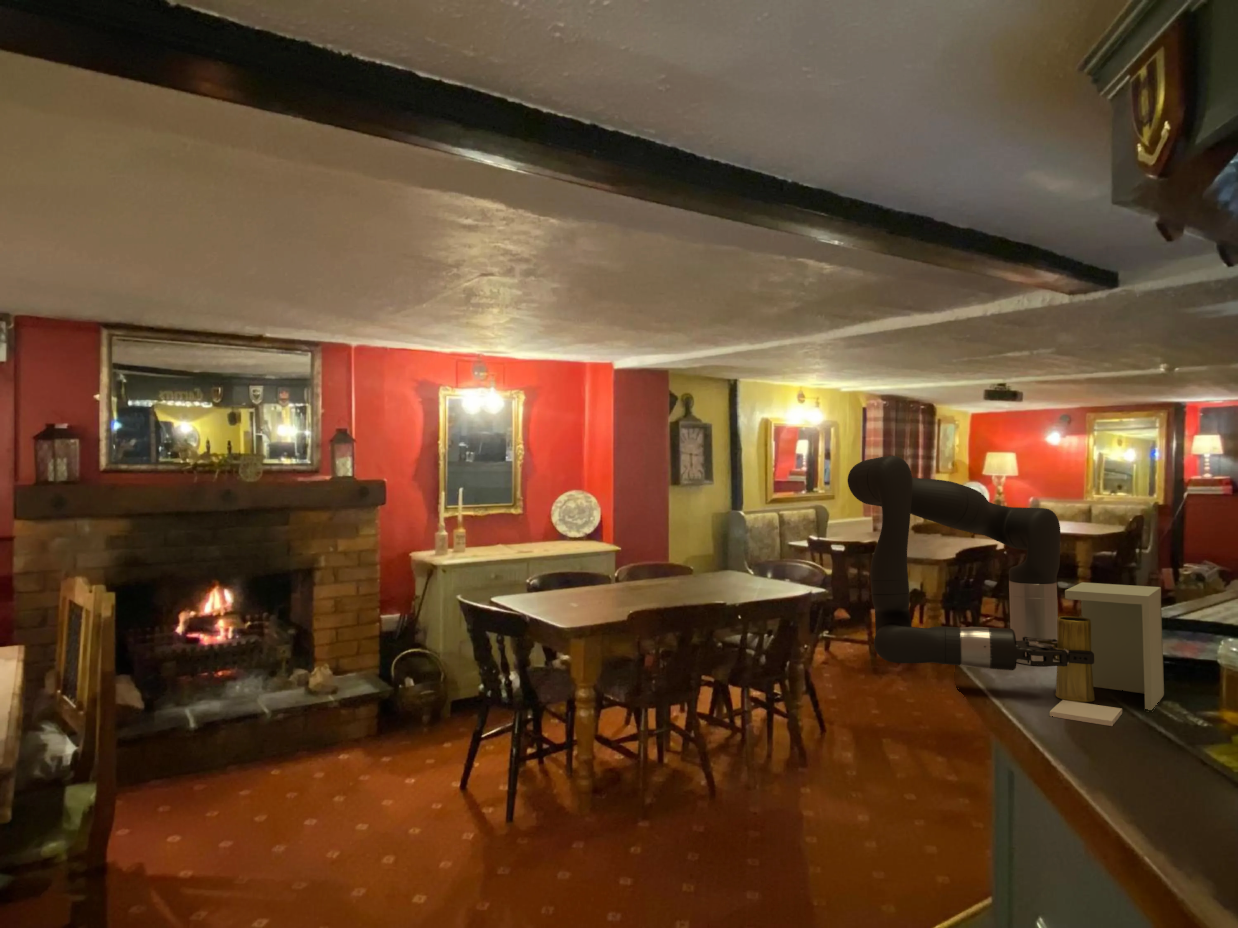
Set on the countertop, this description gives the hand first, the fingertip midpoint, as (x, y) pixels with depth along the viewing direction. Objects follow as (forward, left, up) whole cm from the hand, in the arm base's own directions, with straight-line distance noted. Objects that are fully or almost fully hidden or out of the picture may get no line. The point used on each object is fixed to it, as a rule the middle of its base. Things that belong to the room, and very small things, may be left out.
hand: (1090, 654), depth 144 cm
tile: (+11, +1, -8) cm, 13 cm away
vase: (+1, -2, -8) cm, 9 cm away
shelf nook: (-5, +3, -8) cm, 10 cm away
